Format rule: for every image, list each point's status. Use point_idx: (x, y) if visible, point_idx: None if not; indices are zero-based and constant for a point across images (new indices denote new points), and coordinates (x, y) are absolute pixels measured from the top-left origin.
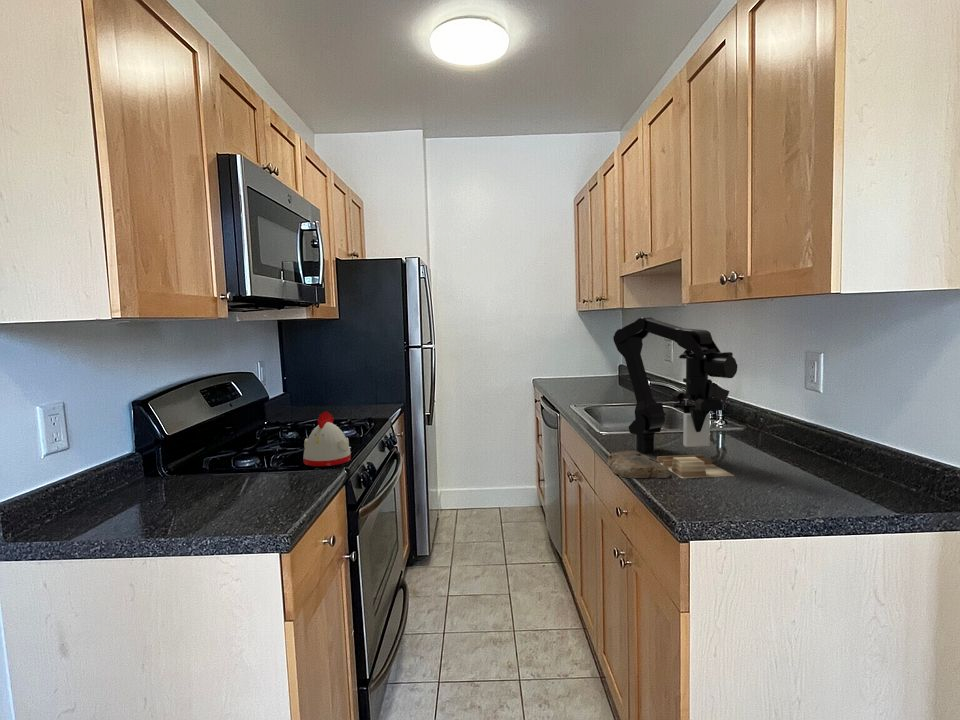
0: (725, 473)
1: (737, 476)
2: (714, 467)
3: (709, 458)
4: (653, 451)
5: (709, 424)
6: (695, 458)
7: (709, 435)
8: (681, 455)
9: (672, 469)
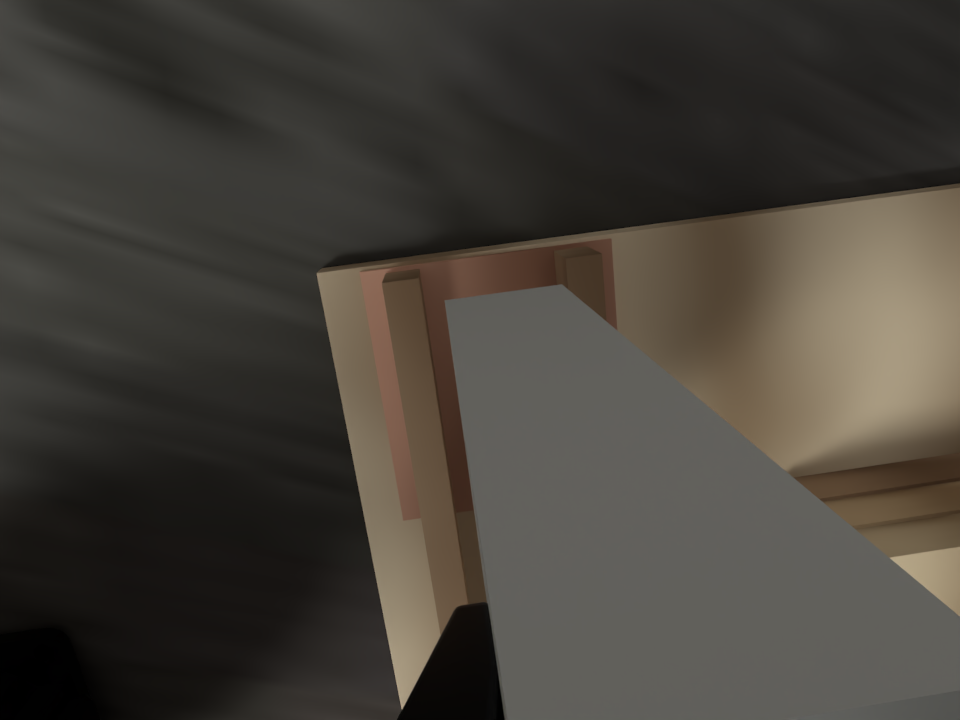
0: (954, 239)
1: (948, 109)
2: (726, 267)
3: (586, 277)
4: (84, 712)
5: (711, 418)
6: (945, 575)
7: (611, 327)
8: (428, 545)
9: None
